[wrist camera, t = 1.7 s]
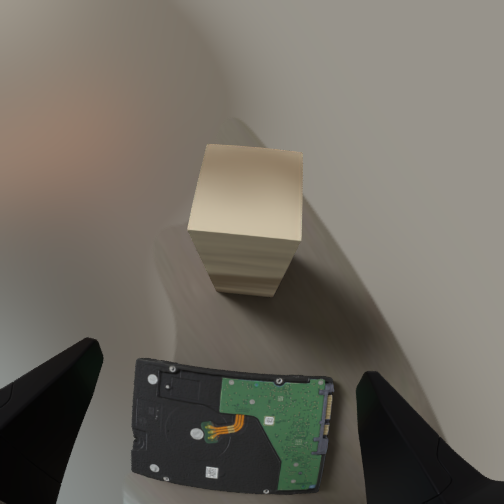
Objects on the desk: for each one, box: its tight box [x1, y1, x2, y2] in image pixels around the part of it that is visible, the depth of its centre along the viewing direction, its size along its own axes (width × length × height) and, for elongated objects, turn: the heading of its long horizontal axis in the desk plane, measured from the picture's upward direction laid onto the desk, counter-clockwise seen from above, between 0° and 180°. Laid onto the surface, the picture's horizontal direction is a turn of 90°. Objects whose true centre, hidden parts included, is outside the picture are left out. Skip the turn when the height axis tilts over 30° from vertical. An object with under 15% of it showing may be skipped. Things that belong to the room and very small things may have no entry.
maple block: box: [187, 144, 303, 297], centre depth 17 cm, size 4×4×12 cm
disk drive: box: [131, 358, 334, 495], centre depth 18 cm, size 10×3×15 cm
